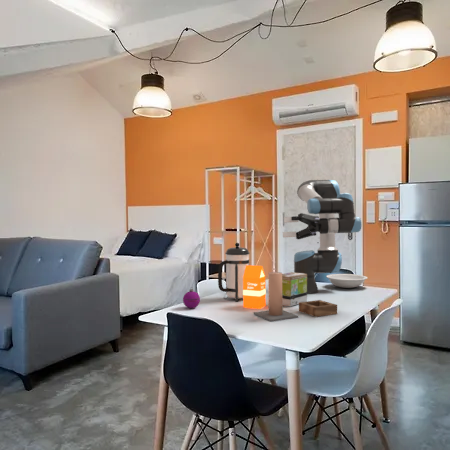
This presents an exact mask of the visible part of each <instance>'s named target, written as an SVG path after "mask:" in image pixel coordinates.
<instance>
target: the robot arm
mask: <svg viewBox="0 0 450 450" xmlns="http://www.w3.org/2000/svg"><path fill="white" fill-rule="evenodd" d="M296 194H297V196H298V197H297V198H298V199H300V200H301V201H304V202H305V203H306V209H307V213H308V214H306V213H303V212H300V213H299V214H297V216H296V215H295V216H284V217H283V221H284V224H285V223H299V222H301V223H304V224H305V225H307V226H306V227H305V228H303V229H301V230H299V231H295V230H294V231H282V237H283V238H295V239H296V240H301V239H305V238H306V239H307V238H309V237H313V236H317V233H319V247H318V248H317V250H316V251H317V252H315V250H302V251H298V252H295V253H294V256H293V268H294V269H293V272H294V273H303V274H307V295H308V294H315V293H318V292H319V288H318V283H317V282H316V277H315V276H316V274H337V273H338V272H339V271H340V270H341V268H342V263H343V257H342V253H341V252H339V249H338V248H337V247H336V234H353V233H359V232H360V231H361V230H362V220H361V219H362V218H361V217H359V216H356V214H355V213H356V212H355V205H354V204H355V203H354V199H353V195H352V194H351V193H348V192H343V193H341V190H340V186H339V183H338V182H337V180H335V179H317V180H316V179H314V180H313V179H311V180H305V181H303V182H302V183H301V184H300V185H299V186H298V187H297V191H296ZM335 214H337V215H338V217H335Z"/></svg>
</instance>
